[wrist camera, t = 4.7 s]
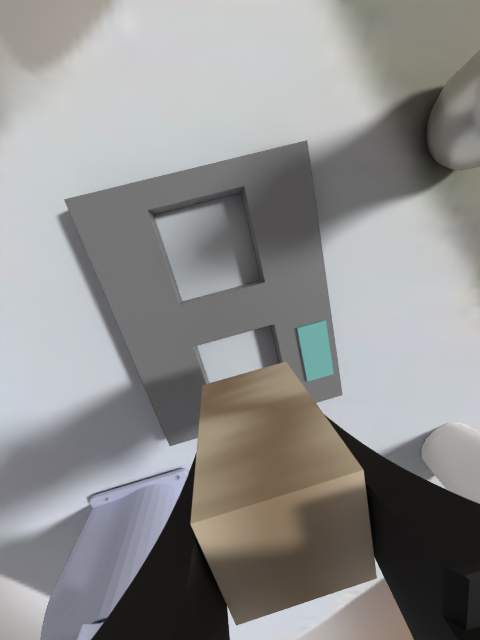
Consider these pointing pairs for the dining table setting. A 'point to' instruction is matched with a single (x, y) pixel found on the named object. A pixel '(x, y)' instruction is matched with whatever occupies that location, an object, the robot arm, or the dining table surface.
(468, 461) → the foam cup
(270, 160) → the socket panel
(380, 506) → the robot arm
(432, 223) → the dining table surface
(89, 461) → the dining table surface
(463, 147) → the plastic bottle
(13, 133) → the dining table surface
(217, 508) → the plug
